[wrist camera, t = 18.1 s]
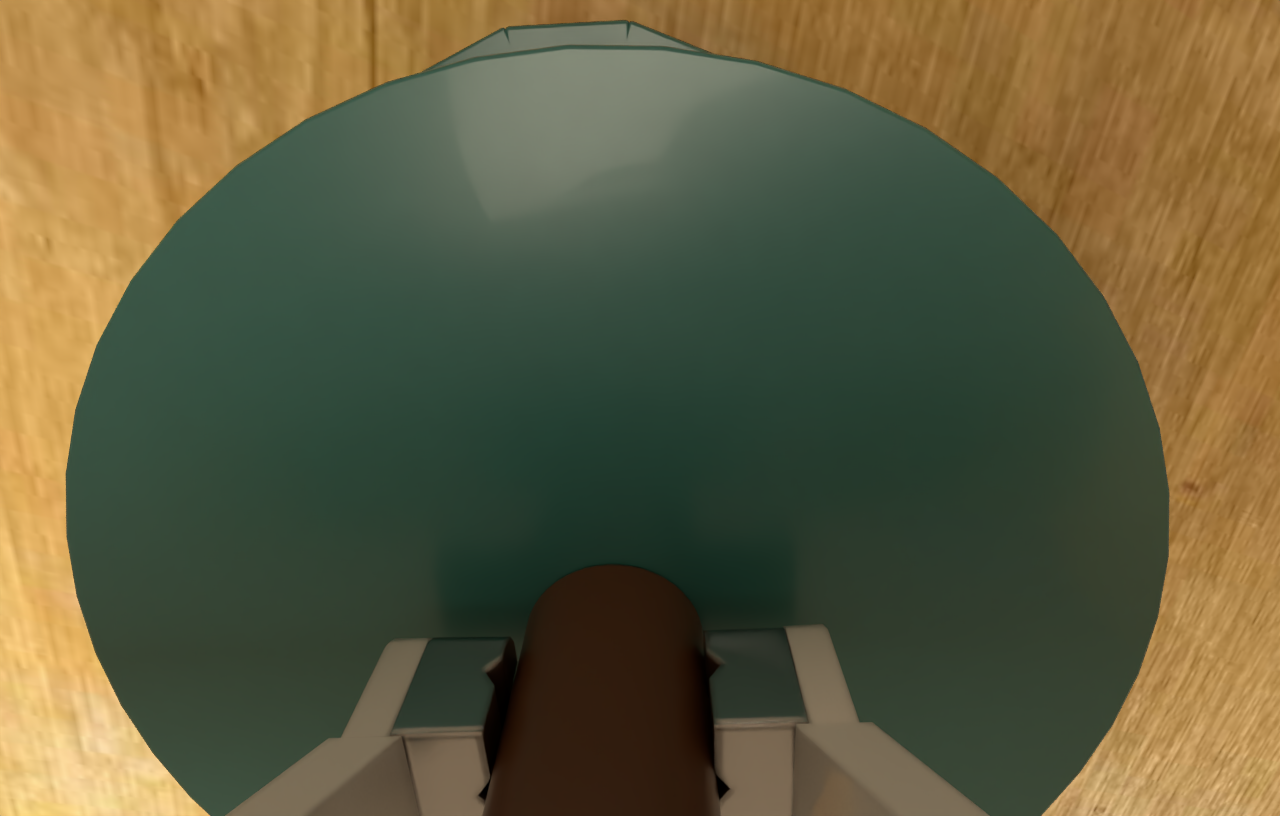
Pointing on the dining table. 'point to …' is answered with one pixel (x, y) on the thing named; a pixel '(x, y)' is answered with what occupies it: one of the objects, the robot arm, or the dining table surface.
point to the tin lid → (616, 434)
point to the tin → (566, 38)
